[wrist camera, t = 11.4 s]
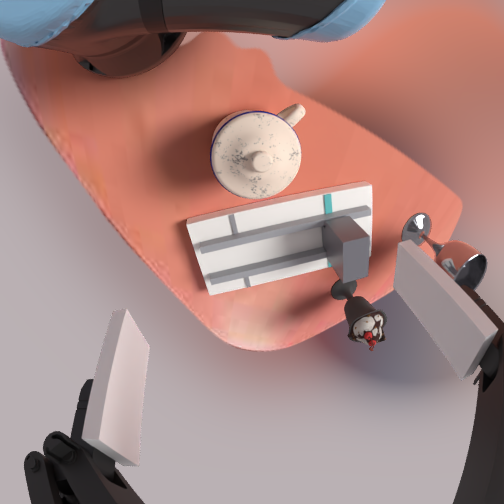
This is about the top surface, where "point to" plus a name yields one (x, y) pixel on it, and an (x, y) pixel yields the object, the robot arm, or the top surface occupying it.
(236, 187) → the teacup with lid
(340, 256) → the fader tab
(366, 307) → the sundae
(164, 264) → the top surface
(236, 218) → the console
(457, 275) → the wine glass
